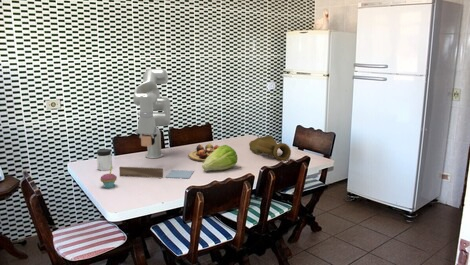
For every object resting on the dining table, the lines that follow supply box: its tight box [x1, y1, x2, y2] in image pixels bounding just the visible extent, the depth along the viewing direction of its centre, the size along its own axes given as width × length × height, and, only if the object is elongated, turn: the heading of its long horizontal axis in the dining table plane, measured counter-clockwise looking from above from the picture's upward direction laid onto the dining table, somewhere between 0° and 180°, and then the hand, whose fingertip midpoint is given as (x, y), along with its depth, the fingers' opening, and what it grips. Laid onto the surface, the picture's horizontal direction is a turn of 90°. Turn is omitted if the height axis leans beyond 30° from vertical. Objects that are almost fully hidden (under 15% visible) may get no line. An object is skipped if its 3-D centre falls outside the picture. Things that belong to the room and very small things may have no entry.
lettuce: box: [201, 144, 238, 171], centre depth 241 cm, size 15×24×16 cm
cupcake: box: [100, 164, 118, 189], centre depth 206 cm, size 9×8×12 cm
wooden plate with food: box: [188, 143, 220, 163], centre depth 270 cm, size 32×32×8 cm
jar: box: [96, 148, 113, 171], centre depth 238 cm, size 9×8×12 cm
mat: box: [165, 169, 195, 180], centre depth 229 cm, size 14×14×1 cm
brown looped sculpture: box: [248, 134, 292, 162], centre depth 272 cm, size 23×16×28 cm
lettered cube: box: [140, 134, 152, 147], centre depth 231 cm, size 6×6×6 cm
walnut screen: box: [119, 166, 164, 179], centre depth 224 cm, size 2×26×6 cm, turn 85°
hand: (147, 143), depth 232 cm, fingers closed on lettered cube, 6 cm apart
